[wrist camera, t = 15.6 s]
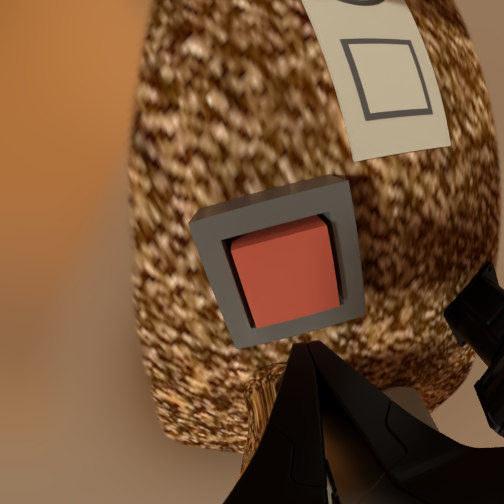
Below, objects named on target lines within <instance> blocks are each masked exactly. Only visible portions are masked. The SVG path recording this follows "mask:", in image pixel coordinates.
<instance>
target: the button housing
mask: <svg viewBox="0 0 504 504" xmlns="http://www.w3.org/2000/svg"><path fill="white" fill-rule="evenodd" d="M317 214H318V217H319V218H320V219H321V220H322V221H323V222H324V223H325V224H326V225H327V229H328V234H329V239H330V245H331V251H332V256H333V262H334V269H335V275H336V282H337V288H338V296H339V303H340V306H339V307H336V308H333V309H329V310H326V311H322V312H319V313H315V314H311V315H308V316H304V317H300V318H297V319H293V320H289V321H285V322H281V323H277V324H273V325H269V326H265V327H261V328H256V325H255V322H254V319H253V316H252V313H251V310H250V307H249V304H248V301H247V298H246V295H245V292H244V289H243V286H242V283H241V280H240V277H239V274H238V271H237V268H236V265H235V262H234V259H233V256H232V253H231V246H232V243H231V240H230V238H231V237H234V236H238V235H242V234H245V233H249V232H253V231H256V230H260V229H264V228H267V227H271V226H275V225H279V224H282V223H286V222H290V221H294V220H298V219H301V218H305V217H309V216H313V215H317ZM188 224H189V227H190V230H191V233H192V236H193V239H194V241H195V244H196V247H197V250H198V252H199V255H200V258H201V261H202V263H203V266H204V269H205V271H206V274H207V277H208V279H209V282H210V285H211V287H212V290H213V292H214V295H215V298H216V300H217V303H218V305H219V308H220V310H221V313H222V315H223V318H224V320H225V323H226V325H227V328H228V330H229V333H230V335H231V337H232V340H233V342H234V345H235V347H236V349H240V348H245V347H249V346H254V345H258V344H263V343H267V342H271V341H276V340H280V339H284V338H288V337H292V336H296V335H299V334H303V333H307V332H311V331H314V330H318V329H321V328H325V327H328V326H332V325H335V324H339V323H342V322H345V321H348V320H351V319H355V318H358V317H361V316H364V315H366V314H365V299H364V287H363V276H362V266H361V257H360V249H359V242H358V234H357V227H356V221H355V215H354V209H353V203H352V197H351V192H350V186H349V181H348V180H345V179H342V178H339V177H336V176H333V175H325V176H321V177H317V178H312V179H308V180H304V181H300V182H296V183H292V184H288V185H284V186H280V187H276V188H272V189H269V190H265V191H261V192H257V193H254V194H250V195H247V196H243V197H239V198H236V199H232V200H229V201H225V202H222V203H219V204H215V205H212V206H208V207H205V208H202V209H199V210H198V211H197V212H196V214H195V215H194V216H193V218H192V219H191V220H190V222H189V223H188Z"/></svg>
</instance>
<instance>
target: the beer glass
mask: <svg viewBox="0 0 504 504" xmlns="http://www.w3.org/2000/svg"><path fill="white" fill-rule="evenodd" d="M286 365H287V363H282V364H274V365H270V366H266V367H264V368H261V369H259V370H257V371H256V372H254V373H253V374H252V375H250V376H249V377H248V379H247V380H246V382H245V384H244V387H243V396H244V400H245V404H246V408H247V413H248V423H249V424H248V435H247V441H246V446H245V450H244V455H243V459H242V464H241V469H240V473H239V479H240V477H241V475H242V474H243V472H244V471H245V469H246V467H247V466H248V464H249V462H250V460H251V459H252V457H253V455H254V453H255V451H256V449H257V447H258V445H259V442H260V440H261V438H262V435H263V433H264V430H265V427H266V424H267V423H268V419H269V416H270V414H271V411H272V408H273V405H274V402H275V399H276V396H277V393H278V390H279V387H280V384H281V381H282V377H283V374H284V371H285V368H286ZM325 459H326V473H327V490H328V501H329V504H341V503H340V500H339V496H338V493H337V489H336V486H335V482H334V479H333V476H332V472H331V469H330V465H329V462H328V459H327V455H326V452H325ZM239 479H238V480H239Z"/></svg>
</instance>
